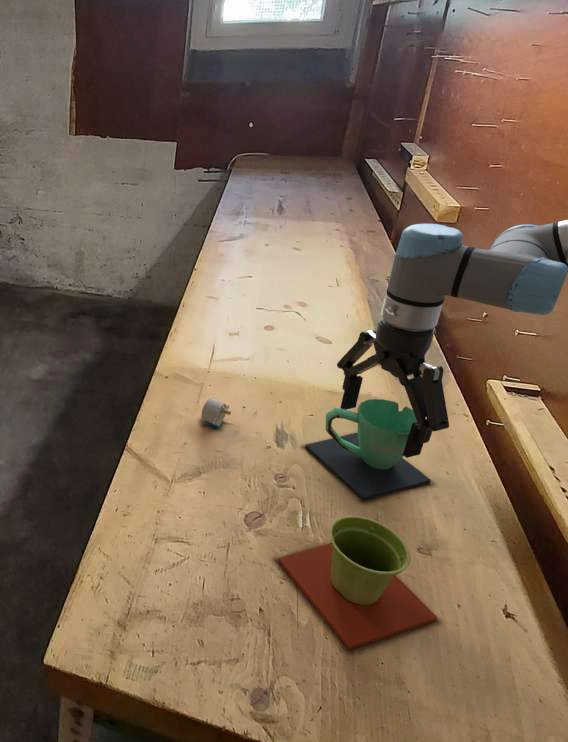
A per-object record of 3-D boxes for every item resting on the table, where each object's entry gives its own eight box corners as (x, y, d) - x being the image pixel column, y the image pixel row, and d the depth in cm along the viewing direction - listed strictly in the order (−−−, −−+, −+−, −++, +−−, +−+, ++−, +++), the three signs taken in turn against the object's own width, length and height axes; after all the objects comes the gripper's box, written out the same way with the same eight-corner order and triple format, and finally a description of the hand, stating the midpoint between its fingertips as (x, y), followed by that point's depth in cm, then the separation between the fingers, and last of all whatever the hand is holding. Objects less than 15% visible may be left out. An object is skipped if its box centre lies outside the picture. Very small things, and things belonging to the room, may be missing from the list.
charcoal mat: (430, 482, 97) (431, 479, 97) (362, 500, 94) (363, 497, 93) (366, 432, 109) (367, 430, 109) (304, 447, 106) (305, 444, 106)
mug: (400, 447, 104) (415, 403, 100) (415, 484, 96) (432, 438, 91) (314, 434, 108) (324, 391, 104) (321, 468, 100) (332, 423, 96)
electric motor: (219, 437, 109) (222, 417, 107) (197, 427, 112) (199, 407, 110) (235, 420, 114) (238, 400, 111) (213, 411, 117) (215, 391, 114)
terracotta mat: (436, 620, 75) (437, 617, 75) (348, 649, 72) (349, 646, 71) (355, 538, 87) (356, 535, 87) (277, 560, 84) (278, 557, 84)
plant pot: (400, 626, 74) (418, 582, 70) (320, 605, 77) (333, 561, 73) (386, 568, 81) (401, 525, 78) (314, 551, 84) (326, 509, 81)
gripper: (329, 294, 99) (309, 394, 108) (462, 365, 77) (423, 483, 86) (364, 288, 100) (341, 387, 109) (505, 355, 78) (462, 472, 88)
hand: (377, 430), depth 98 cm, fingers open, 13 cm apart
